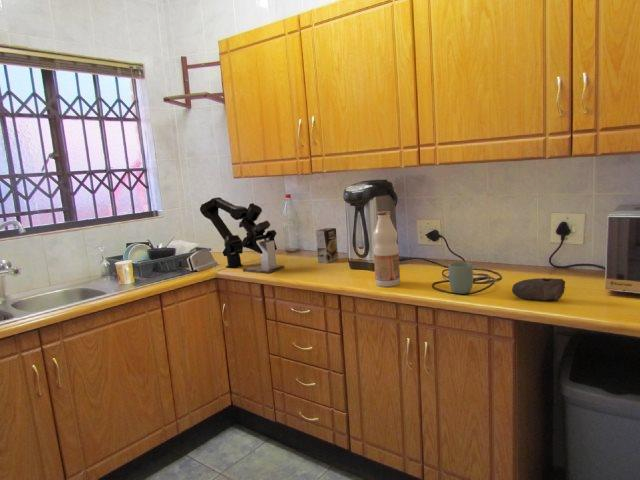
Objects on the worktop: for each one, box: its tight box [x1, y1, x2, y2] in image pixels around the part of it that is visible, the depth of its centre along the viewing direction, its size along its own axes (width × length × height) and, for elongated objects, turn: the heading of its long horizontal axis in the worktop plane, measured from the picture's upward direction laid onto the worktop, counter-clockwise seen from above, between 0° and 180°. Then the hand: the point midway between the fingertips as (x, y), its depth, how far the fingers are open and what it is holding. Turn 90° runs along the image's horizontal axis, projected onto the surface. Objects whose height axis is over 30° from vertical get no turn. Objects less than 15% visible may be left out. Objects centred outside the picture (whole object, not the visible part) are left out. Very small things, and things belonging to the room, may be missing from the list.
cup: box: [448, 261, 474, 295], centre depth 153 cm, size 8×8×10 cm
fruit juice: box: [372, 210, 401, 288], centre depth 170 cm, size 9×9×28 cm
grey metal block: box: [186, 250, 219, 272], centre depth 232 cm, size 17×5×10 cm, turn 155°
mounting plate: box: [242, 263, 285, 275], centre depth 216 cm, size 16×12×1 cm
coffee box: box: [315, 227, 339, 264], centre depth 223 cm, size 9×6×16 cm
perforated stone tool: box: [511, 277, 566, 302], centre depth 140 cm, size 15×5×7 cm, turn 61°
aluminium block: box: [258, 240, 277, 270], centre depth 212 cm, size 5×5×13 cm
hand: (269, 251), depth 211 cm, fingers open, 9 cm apart
